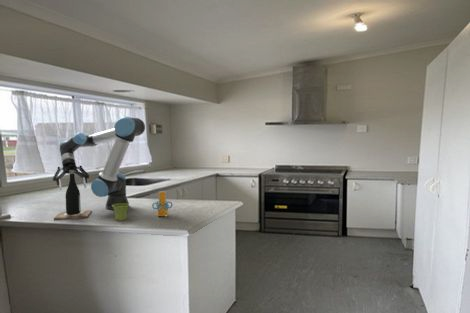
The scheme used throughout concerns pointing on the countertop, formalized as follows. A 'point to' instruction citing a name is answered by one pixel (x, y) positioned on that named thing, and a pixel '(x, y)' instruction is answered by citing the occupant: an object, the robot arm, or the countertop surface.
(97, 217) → the countertop surface
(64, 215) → the board
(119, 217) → the plant pot
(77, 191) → the wine bottle
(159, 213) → the orange block with loops
